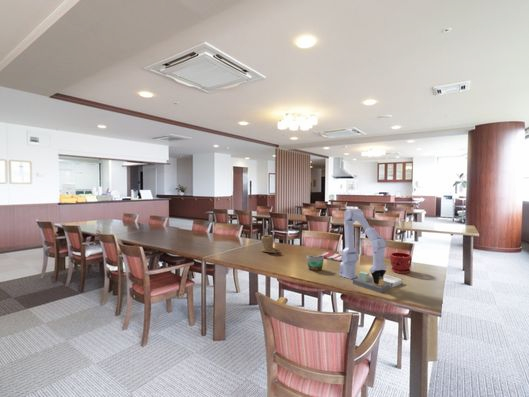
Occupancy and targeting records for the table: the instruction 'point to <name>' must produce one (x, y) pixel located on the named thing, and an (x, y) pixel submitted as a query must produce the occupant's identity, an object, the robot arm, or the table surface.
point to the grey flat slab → (371, 285)
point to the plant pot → (400, 262)
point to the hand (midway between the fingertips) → (377, 282)
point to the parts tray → (390, 280)
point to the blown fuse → (379, 281)
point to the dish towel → (332, 256)
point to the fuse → (363, 276)
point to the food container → (315, 263)
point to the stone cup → (268, 244)
